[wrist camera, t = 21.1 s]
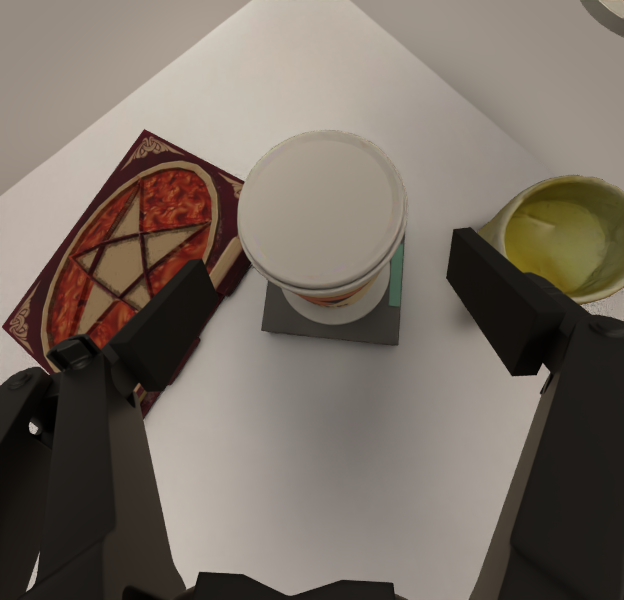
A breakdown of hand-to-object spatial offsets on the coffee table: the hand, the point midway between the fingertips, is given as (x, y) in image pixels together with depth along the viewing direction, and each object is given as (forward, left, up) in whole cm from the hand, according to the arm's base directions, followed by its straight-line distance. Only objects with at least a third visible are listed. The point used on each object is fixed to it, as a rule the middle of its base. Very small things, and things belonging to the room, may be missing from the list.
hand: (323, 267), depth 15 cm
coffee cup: (+1, -3, -11) cm, 11 cm away
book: (+23, -2, -14) cm, 27 cm away
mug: (-15, -4, -14) cm, 22 cm away
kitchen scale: (+1, -3, -14) cm, 15 cm away
